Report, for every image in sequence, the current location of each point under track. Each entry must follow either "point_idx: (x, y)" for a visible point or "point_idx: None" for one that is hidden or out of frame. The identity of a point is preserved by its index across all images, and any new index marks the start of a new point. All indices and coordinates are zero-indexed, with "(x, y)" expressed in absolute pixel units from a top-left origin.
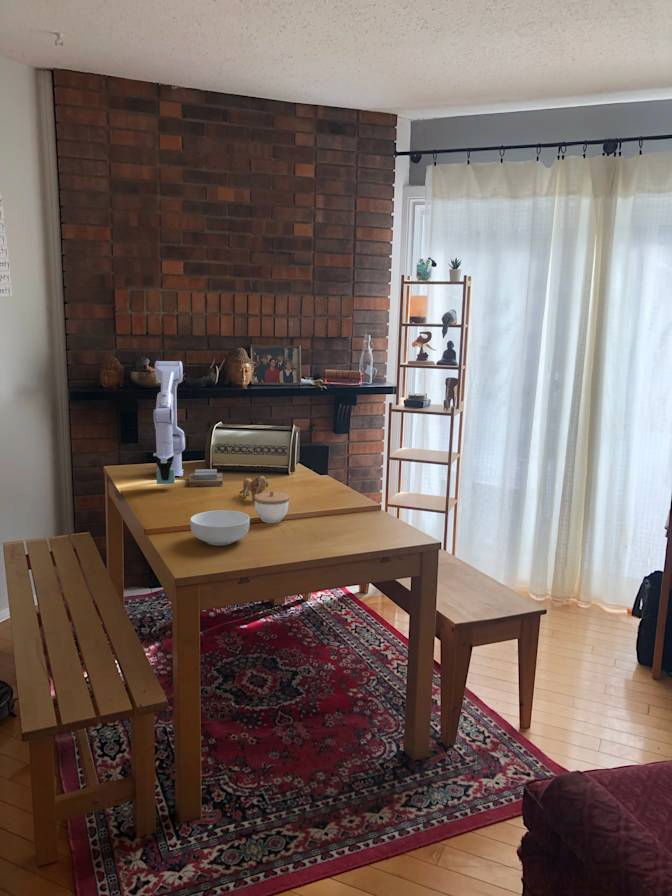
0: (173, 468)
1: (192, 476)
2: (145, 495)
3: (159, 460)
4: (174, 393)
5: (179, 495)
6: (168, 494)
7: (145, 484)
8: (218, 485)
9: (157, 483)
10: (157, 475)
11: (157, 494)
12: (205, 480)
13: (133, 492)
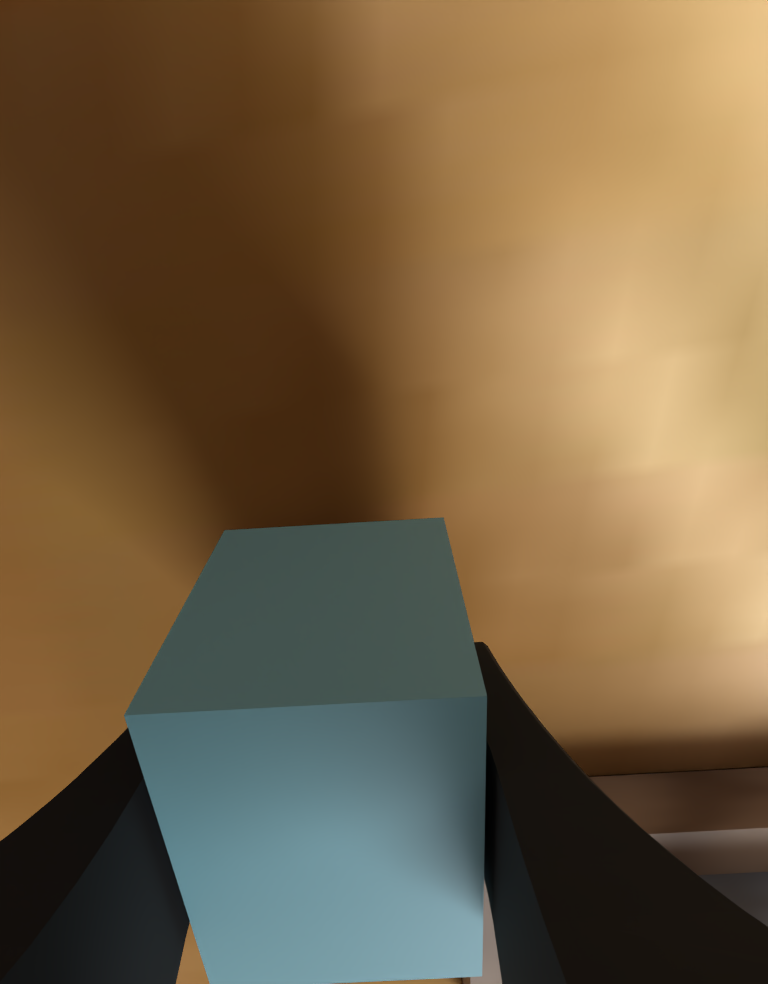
0: (361, 973)
1: (719, 852)
2: (17, 344)
3: (561, 978)
4: None
5: (98, 734)
6: (122, 628)
7: (702, 234)
8: (463, 978)
9: (222, 545)
10: (177, 642)
11: (101, 504)
12: (498, 959)
13: (168, 90)
